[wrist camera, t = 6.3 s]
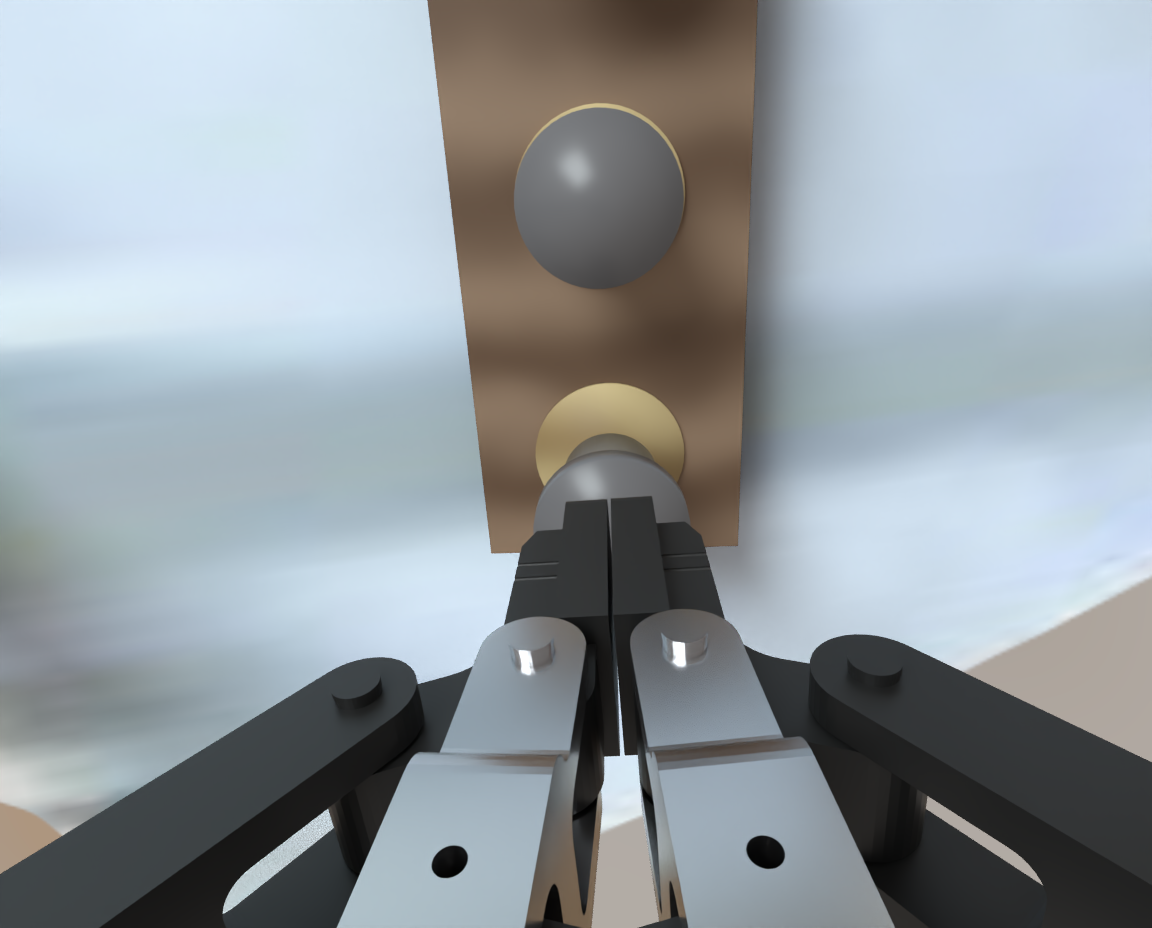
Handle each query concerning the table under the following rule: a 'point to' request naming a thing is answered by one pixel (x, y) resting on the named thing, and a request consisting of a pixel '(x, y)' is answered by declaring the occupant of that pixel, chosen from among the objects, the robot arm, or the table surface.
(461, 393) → the table surface
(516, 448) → the mount board
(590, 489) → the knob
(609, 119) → the middle knob
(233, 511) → the table surface
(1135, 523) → the table surface
